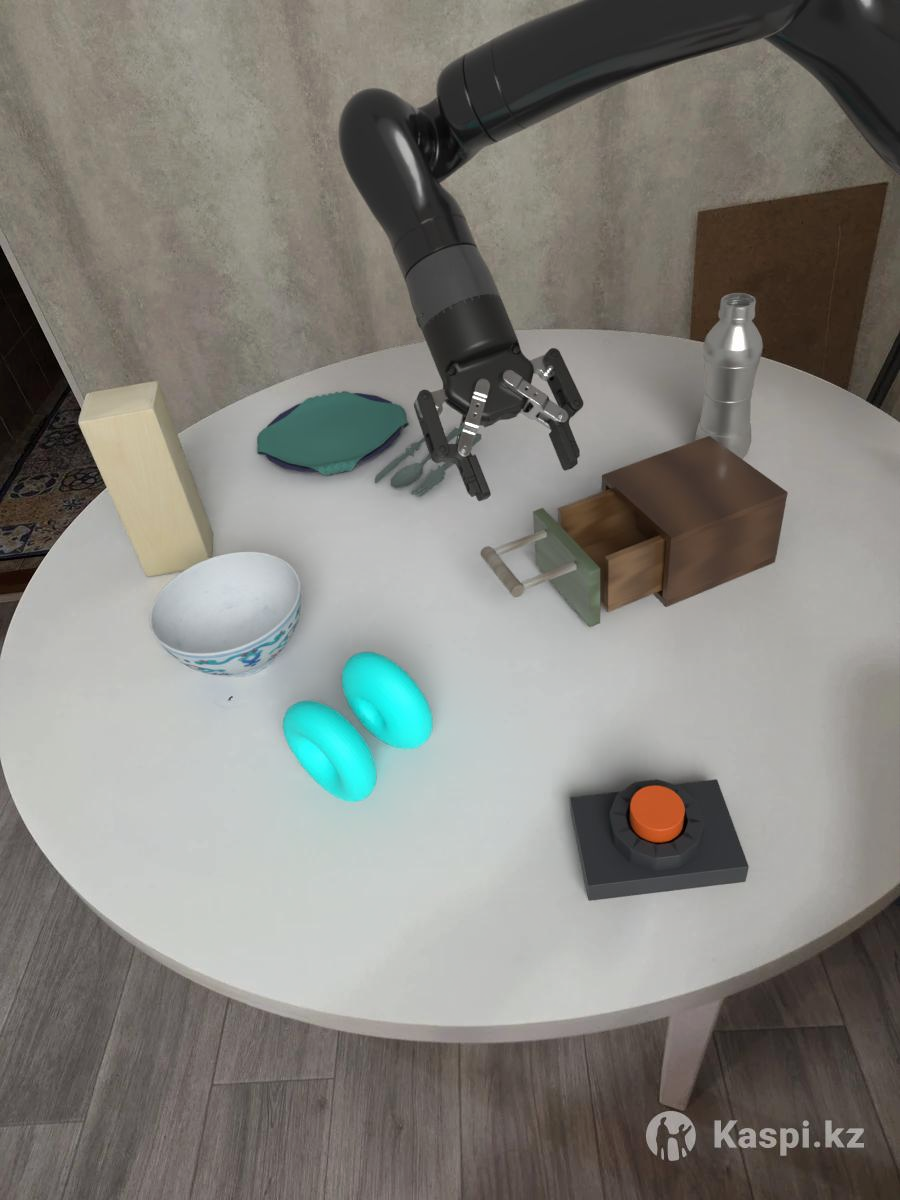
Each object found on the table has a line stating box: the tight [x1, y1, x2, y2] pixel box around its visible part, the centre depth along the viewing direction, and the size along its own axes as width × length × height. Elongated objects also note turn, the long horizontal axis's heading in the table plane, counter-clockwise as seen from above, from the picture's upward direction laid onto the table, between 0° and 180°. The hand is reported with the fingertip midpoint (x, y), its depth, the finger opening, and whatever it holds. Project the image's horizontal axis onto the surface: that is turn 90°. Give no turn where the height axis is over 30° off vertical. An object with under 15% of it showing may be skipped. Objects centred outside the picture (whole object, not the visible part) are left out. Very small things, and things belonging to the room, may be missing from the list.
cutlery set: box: [256, 390, 482, 498], centre depth 117 cm, size 20×30×2 cm, turn 55°
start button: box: [630, 785, 685, 843], centre depth 66 cm, size 4×4×2 cm
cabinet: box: [601, 436, 789, 608], centre depth 91 cm, size 14×13×9 cm
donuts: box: [282, 651, 434, 803], centre depth 75 cm, size 10×10×10 cm
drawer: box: [479, 489, 666, 628], centre depth 88 cm, size 20×11×7 cm, turn 114°
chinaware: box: [149, 551, 302, 678], centre depth 88 cm, size 15×15×8 cm
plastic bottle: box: [694, 292, 764, 460], centre depth 100 cm, size 6×7×20 cm
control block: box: [569, 778, 750, 902], centre depth 67 cm, size 12×8×4 cm, turn 94°
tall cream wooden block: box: [77, 380, 214, 578], centre depth 98 cm, size 8×7×21 cm
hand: (528, 482), depth 76 cm, fingers open, 8 cm apart
